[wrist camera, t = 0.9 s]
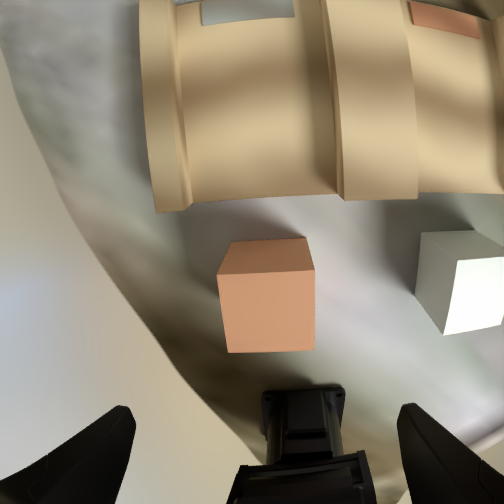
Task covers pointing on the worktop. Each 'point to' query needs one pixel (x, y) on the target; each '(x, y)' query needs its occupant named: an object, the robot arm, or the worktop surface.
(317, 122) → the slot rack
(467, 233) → the blue-grey block
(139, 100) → the worktop surface
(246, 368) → the worktop surface
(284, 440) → the robot arm
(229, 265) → the terracotta block
